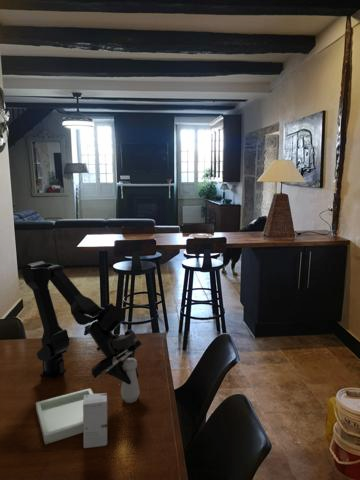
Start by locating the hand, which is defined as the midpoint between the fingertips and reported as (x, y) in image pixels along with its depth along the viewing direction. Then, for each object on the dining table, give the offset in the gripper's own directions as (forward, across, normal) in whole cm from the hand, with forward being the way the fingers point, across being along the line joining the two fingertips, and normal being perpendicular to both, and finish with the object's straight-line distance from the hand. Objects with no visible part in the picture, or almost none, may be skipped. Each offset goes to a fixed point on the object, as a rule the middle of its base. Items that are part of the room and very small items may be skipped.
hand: (133, 380), depth 111 cm
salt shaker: (+4, 0, +6) cm, 7 cm away
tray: (-3, -15, +13) cm, 20 cm away
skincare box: (+6, -19, +4) cm, 20 cm away
